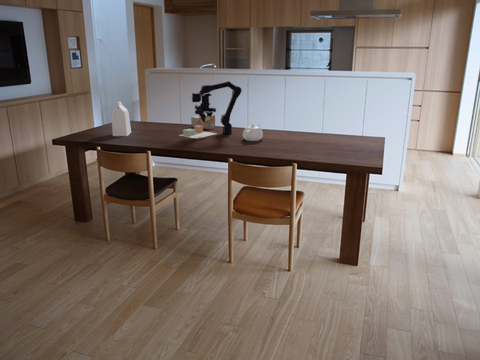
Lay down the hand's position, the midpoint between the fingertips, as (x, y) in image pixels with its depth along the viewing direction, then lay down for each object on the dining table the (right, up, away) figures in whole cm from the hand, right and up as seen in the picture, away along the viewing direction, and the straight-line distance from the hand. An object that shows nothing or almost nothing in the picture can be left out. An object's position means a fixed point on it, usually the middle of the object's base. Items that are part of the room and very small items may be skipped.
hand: (205, 121), depth 326 cm
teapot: (+37, -15, -10) cm, 41 cm away
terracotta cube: (-7, -6, +13) cm, 16 cm away
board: (-7, -10, +5) cm, 13 cm away
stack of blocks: (-5, -1, +32) cm, 33 cm away
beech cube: (0, -1, 0) cm, 1 cm away
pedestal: (-14, -10, +4) cm, 17 cm away
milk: (-68, -9, +8) cm, 69 cm away
